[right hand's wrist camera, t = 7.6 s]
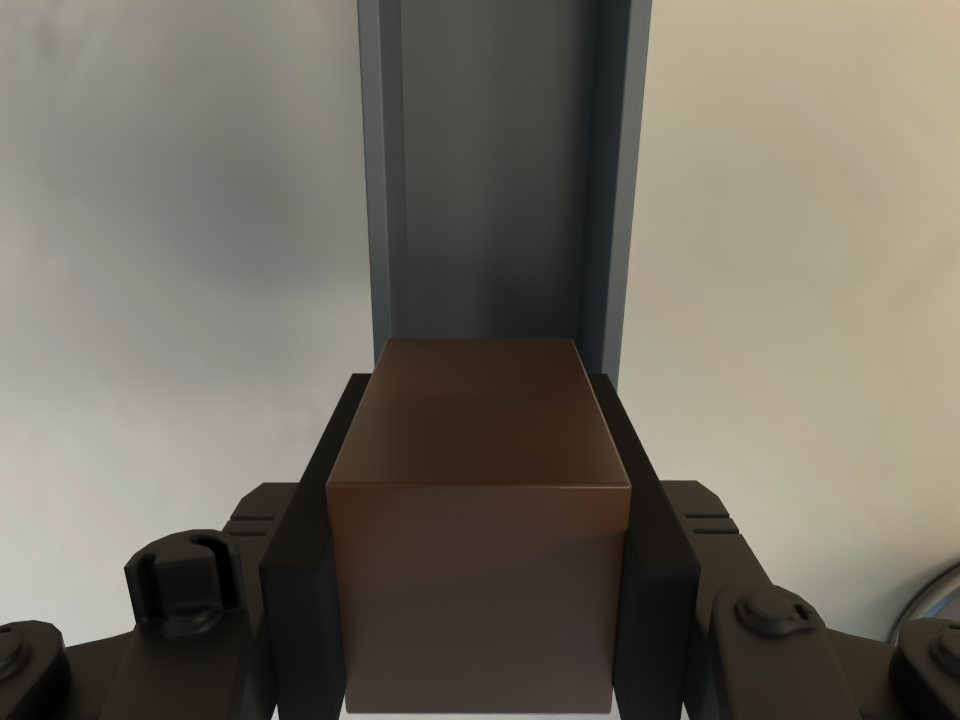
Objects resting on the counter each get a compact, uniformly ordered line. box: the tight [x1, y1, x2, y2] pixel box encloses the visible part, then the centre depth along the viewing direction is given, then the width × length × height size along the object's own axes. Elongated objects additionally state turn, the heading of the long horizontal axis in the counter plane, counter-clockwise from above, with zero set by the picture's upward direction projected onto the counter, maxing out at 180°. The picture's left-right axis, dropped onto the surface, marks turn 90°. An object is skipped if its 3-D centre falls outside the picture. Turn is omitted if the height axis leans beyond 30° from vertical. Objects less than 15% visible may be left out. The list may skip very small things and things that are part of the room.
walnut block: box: [326, 338, 632, 715], centre depth 12 cm, size 4×4×6 cm
